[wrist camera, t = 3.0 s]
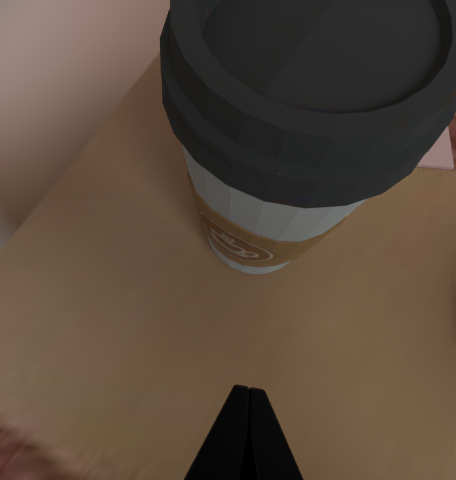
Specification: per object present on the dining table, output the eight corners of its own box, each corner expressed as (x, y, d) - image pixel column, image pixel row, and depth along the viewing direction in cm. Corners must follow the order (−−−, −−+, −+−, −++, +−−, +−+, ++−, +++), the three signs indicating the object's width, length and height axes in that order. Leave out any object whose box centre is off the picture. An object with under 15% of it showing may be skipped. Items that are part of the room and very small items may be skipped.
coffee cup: (166, 246, 21) (67, 41, 7) (234, 153, 24) (261, -138, 10) (277, 317, 20) (423, 239, 6) (337, 212, 23) (543, -22, 8)
